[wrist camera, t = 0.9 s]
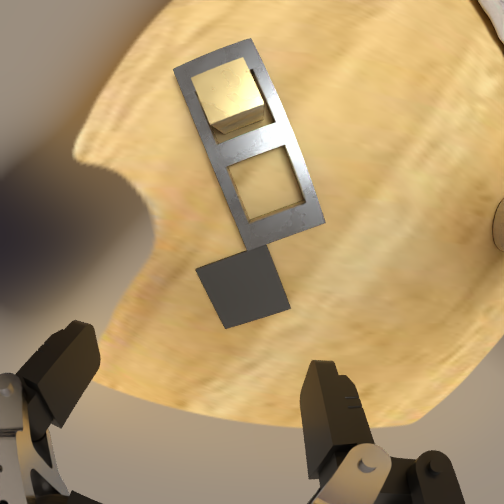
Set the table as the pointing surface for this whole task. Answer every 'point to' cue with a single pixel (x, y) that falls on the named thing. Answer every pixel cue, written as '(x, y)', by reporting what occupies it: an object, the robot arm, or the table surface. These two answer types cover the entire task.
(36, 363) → the robot arm
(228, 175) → the grey slotted frame
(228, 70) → the block
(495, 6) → the stone
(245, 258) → the mat
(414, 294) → the table surface
